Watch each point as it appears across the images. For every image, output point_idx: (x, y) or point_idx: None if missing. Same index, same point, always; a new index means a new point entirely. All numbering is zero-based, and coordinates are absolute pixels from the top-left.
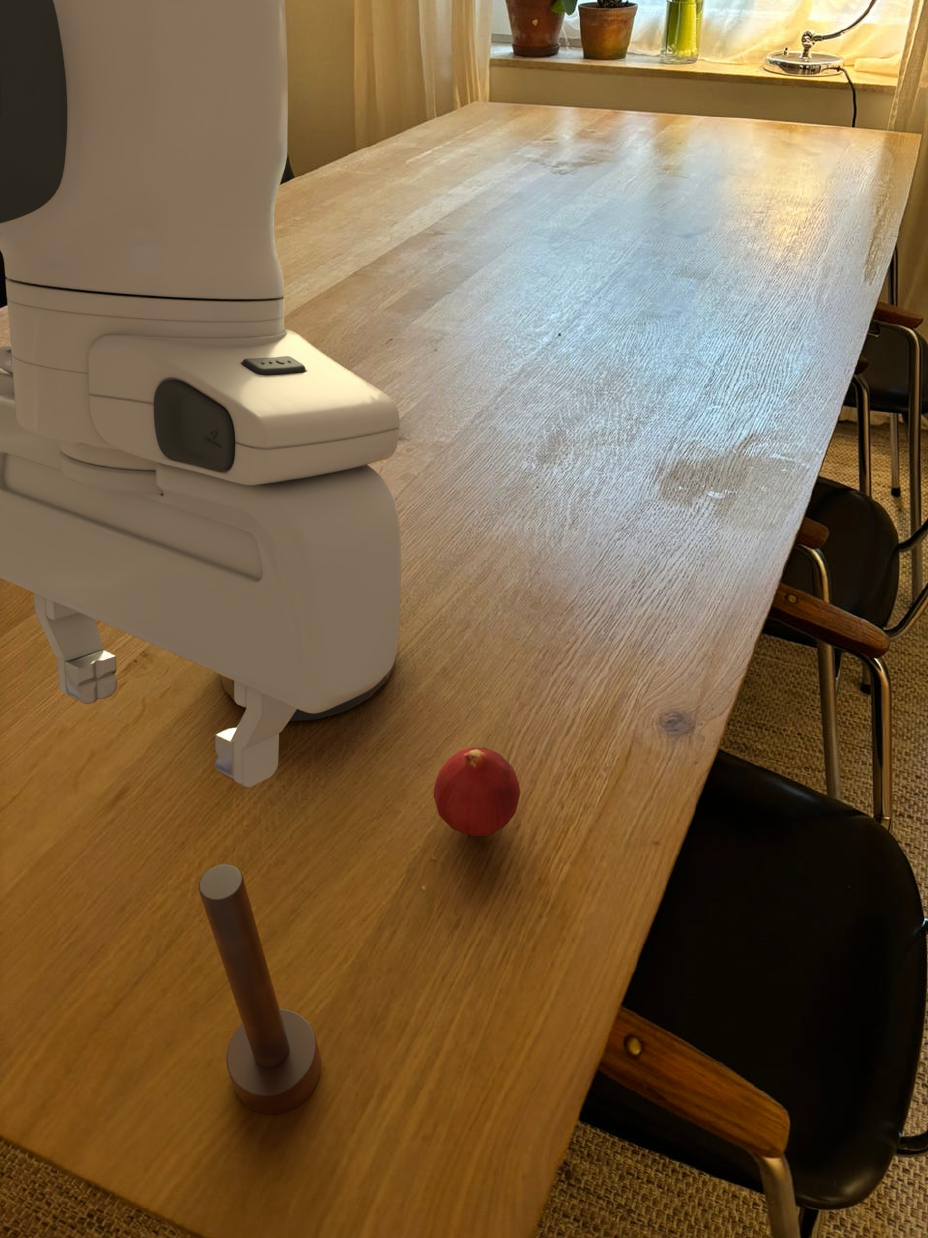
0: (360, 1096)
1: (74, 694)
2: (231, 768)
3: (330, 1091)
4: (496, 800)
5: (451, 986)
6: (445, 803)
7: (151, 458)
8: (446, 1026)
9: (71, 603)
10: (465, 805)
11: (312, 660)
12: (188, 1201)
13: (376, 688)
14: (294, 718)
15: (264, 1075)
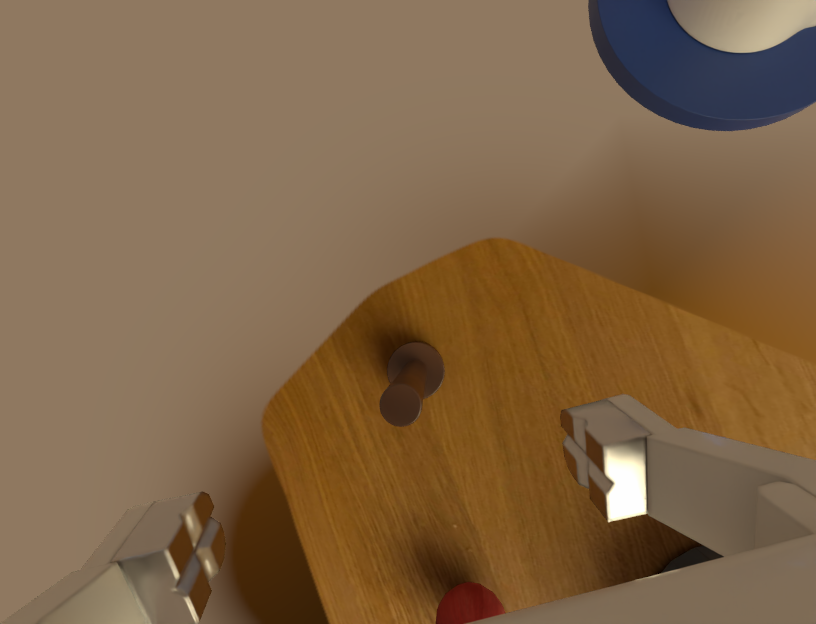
0: (369, 395)
1: (586, 406)
2: (146, 515)
3: (384, 384)
4: None
5: (383, 485)
6: (475, 600)
7: None
8: (365, 463)
9: (687, 591)
10: (457, 611)
11: None
12: (390, 289)
13: None
14: (667, 568)
15: (405, 358)
